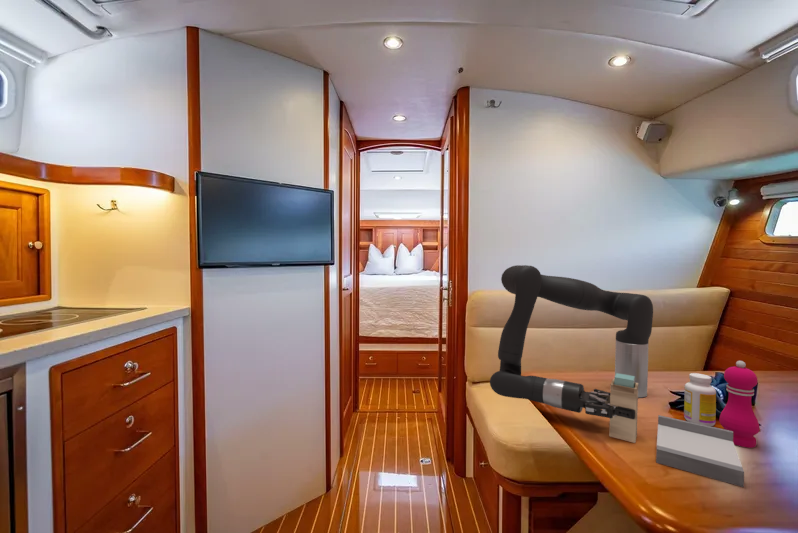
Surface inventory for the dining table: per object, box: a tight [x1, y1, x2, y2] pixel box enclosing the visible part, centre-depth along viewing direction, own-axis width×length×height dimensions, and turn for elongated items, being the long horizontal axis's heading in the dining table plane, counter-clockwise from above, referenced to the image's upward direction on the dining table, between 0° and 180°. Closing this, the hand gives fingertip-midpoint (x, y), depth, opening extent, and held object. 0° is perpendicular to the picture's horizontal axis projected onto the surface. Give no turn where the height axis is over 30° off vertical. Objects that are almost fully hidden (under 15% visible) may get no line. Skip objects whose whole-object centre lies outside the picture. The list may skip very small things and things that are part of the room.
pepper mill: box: [718, 360, 761, 449], centre depth 89 cm, size 7×7×20 cm
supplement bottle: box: [683, 372, 717, 427], centre depth 99 cm, size 7×7×13 cm
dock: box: [655, 414, 745, 488], centre depth 81 cm, size 16×14×5 cm
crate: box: [608, 378, 639, 444], centre depth 91 cm, size 6×6×13 cm
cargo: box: [613, 373, 635, 388], centre depth 91 cm, size 4×4×3 cm
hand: (635, 410), depth 90 cm, fingers closed on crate, 5 cm apart
